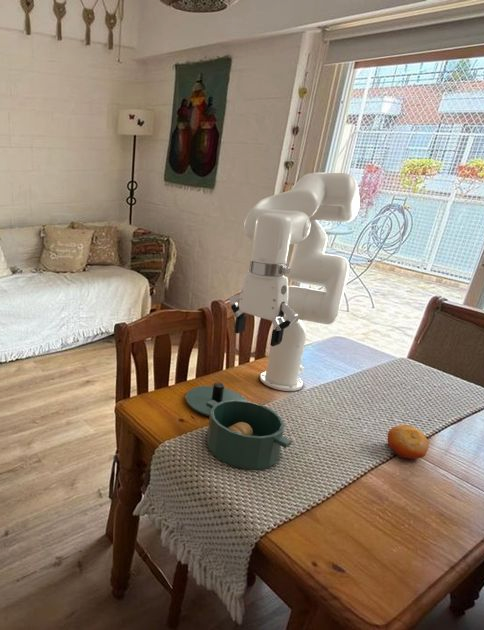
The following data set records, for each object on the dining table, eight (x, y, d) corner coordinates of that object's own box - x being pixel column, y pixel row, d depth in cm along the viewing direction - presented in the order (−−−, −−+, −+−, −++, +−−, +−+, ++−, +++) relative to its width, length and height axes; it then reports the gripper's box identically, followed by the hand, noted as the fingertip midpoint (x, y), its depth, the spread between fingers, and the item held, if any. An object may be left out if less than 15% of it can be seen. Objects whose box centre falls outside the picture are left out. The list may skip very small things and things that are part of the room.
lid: (211, 384, 139) (213, 366, 137) (261, 408, 125) (264, 388, 123) (172, 400, 129) (174, 381, 127) (222, 428, 116) (224, 407, 114)
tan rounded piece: (244, 439, 112) (237, 420, 113) (260, 437, 108) (252, 418, 108) (224, 450, 107) (216, 430, 108) (240, 449, 103) (232, 428, 104)
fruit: (407, 435, 111) (425, 421, 105) (420, 466, 106) (439, 453, 99) (374, 433, 111) (389, 419, 105) (385, 464, 106) (401, 450, 100)
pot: (226, 417, 121) (229, 389, 118) (303, 458, 104) (309, 427, 101) (185, 437, 112) (187, 408, 109) (262, 486, 95) (267, 453, 92)
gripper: (312, 274, 95) (299, 346, 101) (244, 260, 109) (236, 325, 114) (294, 278, 91) (281, 354, 97) (225, 264, 105) (217, 330, 110)
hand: (256, 338), depth 106 cm, fingers open, 9 cm apart
